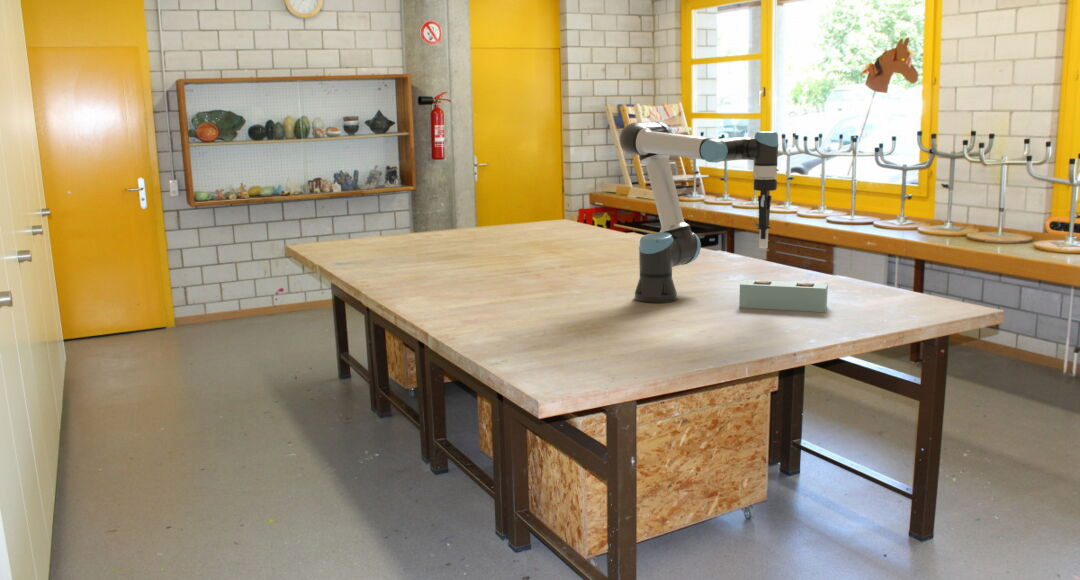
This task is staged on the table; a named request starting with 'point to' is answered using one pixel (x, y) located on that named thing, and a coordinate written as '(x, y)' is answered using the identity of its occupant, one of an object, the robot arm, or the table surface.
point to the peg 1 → (763, 282)
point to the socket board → (783, 296)
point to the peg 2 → (805, 284)
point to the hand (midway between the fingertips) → (763, 248)
